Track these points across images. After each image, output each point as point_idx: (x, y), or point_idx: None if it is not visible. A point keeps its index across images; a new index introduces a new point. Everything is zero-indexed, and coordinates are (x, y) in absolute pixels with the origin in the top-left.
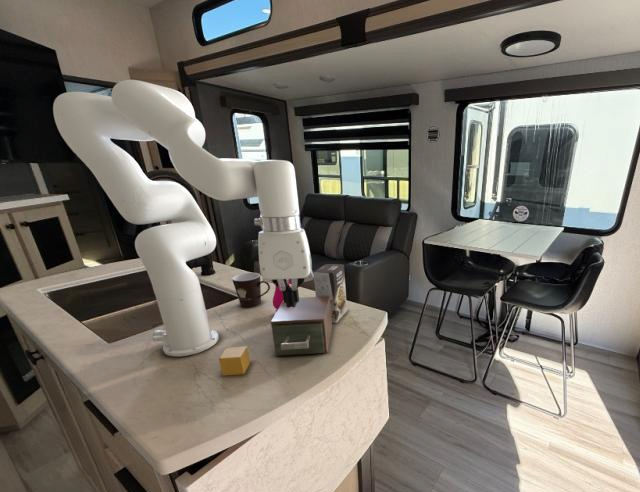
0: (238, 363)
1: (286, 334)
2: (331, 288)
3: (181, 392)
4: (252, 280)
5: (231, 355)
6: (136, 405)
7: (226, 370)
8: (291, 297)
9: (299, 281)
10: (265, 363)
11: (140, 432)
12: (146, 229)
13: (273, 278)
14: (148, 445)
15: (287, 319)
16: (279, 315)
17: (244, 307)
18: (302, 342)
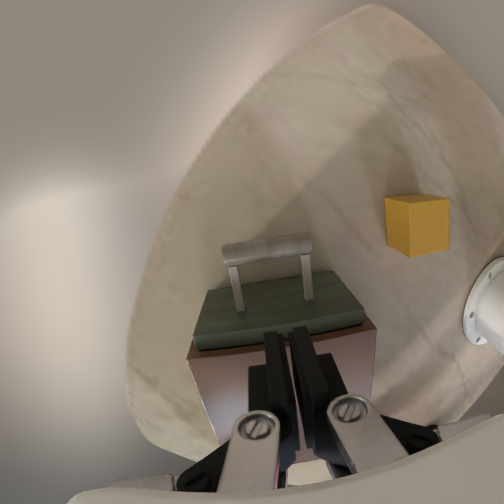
0: (405, 199)
1: (314, 302)
2: None
3: (459, 144)
4: None
5: (429, 211)
6: (489, 121)
7: (420, 195)
8: (277, 367)
9: (207, 476)
10: (352, 244)
11: (448, 57)
12: None
13: (455, 441)
14: (419, 29)
15: (322, 348)
16: (357, 369)
17: (433, 425)
18: (240, 255)
